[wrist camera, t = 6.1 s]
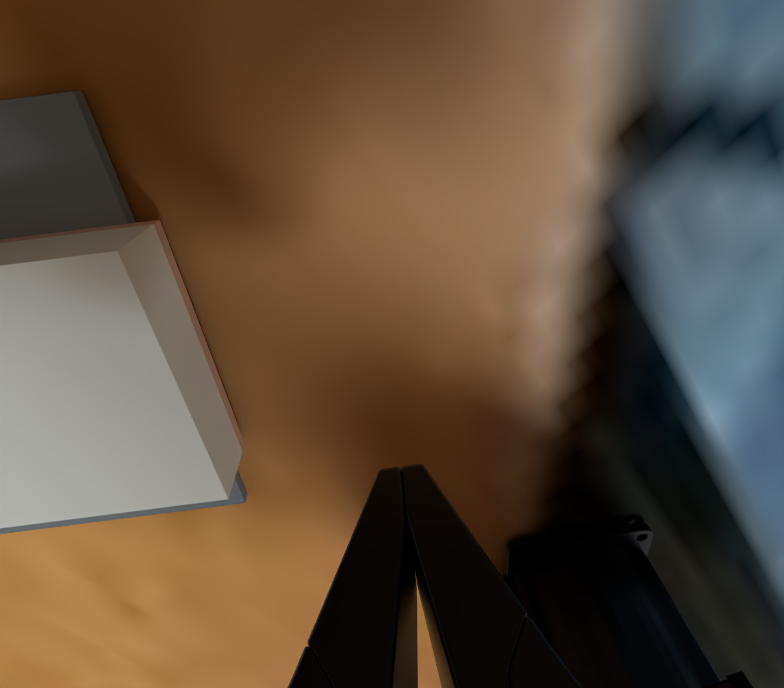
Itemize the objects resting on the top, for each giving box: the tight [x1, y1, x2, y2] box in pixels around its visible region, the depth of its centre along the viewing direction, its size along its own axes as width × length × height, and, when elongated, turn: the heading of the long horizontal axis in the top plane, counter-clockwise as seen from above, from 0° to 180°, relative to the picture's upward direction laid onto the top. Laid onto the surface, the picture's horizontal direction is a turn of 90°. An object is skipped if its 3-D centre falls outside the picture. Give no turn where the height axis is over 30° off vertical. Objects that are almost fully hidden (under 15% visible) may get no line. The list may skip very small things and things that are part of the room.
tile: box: [0, 220, 245, 528], centre depth 13 cm, size 2×8×8 cm
